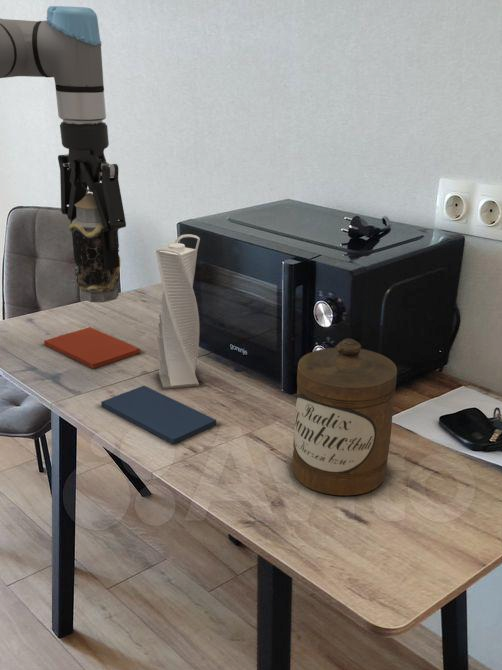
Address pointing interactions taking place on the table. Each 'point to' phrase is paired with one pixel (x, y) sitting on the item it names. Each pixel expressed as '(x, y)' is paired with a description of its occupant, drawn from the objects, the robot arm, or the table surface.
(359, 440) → the wooden container
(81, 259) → the lantern
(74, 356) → the mat terracotta
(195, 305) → the skyscraper
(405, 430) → the table surface
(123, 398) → the mat blue
